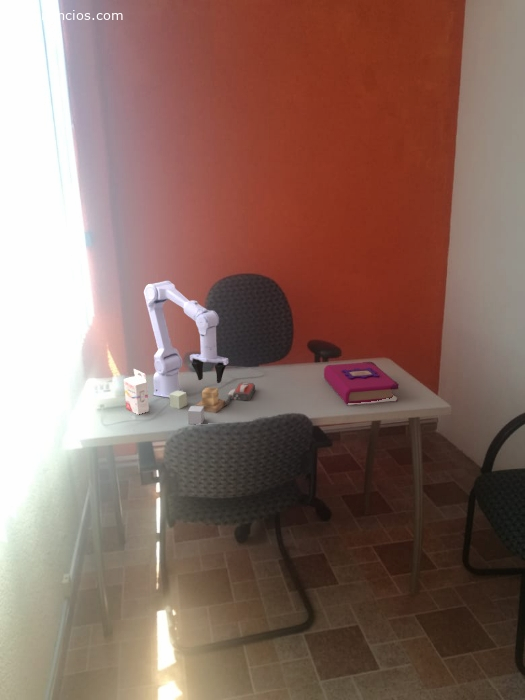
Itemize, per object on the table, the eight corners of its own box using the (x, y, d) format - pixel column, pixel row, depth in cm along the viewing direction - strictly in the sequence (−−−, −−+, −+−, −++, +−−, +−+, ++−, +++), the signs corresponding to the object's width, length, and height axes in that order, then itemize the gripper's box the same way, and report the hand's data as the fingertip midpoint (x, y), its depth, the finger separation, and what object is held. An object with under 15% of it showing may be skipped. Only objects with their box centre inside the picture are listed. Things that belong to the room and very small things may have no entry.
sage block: (169, 406, 206) (169, 394, 205) (177, 402, 210) (177, 390, 208) (179, 409, 204) (178, 396, 202) (187, 405, 207) (186, 392, 206)
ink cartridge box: (125, 408, 204) (122, 371, 200) (137, 404, 208) (133, 367, 203) (138, 415, 199) (134, 377, 194) (149, 411, 202) (146, 373, 197)
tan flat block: (196, 411, 203) (195, 405, 202) (206, 403, 210) (205, 397, 209) (215, 414, 200) (215, 408, 200) (225, 406, 207) (225, 400, 207)
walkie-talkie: (234, 388, 224) (222, 407, 206) (234, 377, 223) (222, 396, 204) (256, 389, 223) (245, 409, 204) (256, 379, 221) (245, 398, 203)
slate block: (188, 424, 191) (187, 411, 190) (191, 418, 196) (191, 405, 194) (201, 424, 191) (200, 411, 189) (204, 419, 195) (203, 406, 194)
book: (345, 407, 205) (346, 388, 203) (323, 380, 231) (324, 363, 229) (399, 402, 209) (400, 383, 207) (371, 377, 235) (372, 360, 233)
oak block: (202, 404, 203) (201, 391, 201) (207, 399, 207) (207, 387, 205) (213, 405, 201) (213, 393, 200) (218, 401, 205) (218, 388, 204)
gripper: (185, 346, 197) (187, 381, 201) (221, 350, 192) (222, 387, 196) (194, 340, 203) (196, 375, 207) (230, 344, 198) (231, 380, 202)
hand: (209, 380), depth 202 cm, fingers open, 7 cm apart
